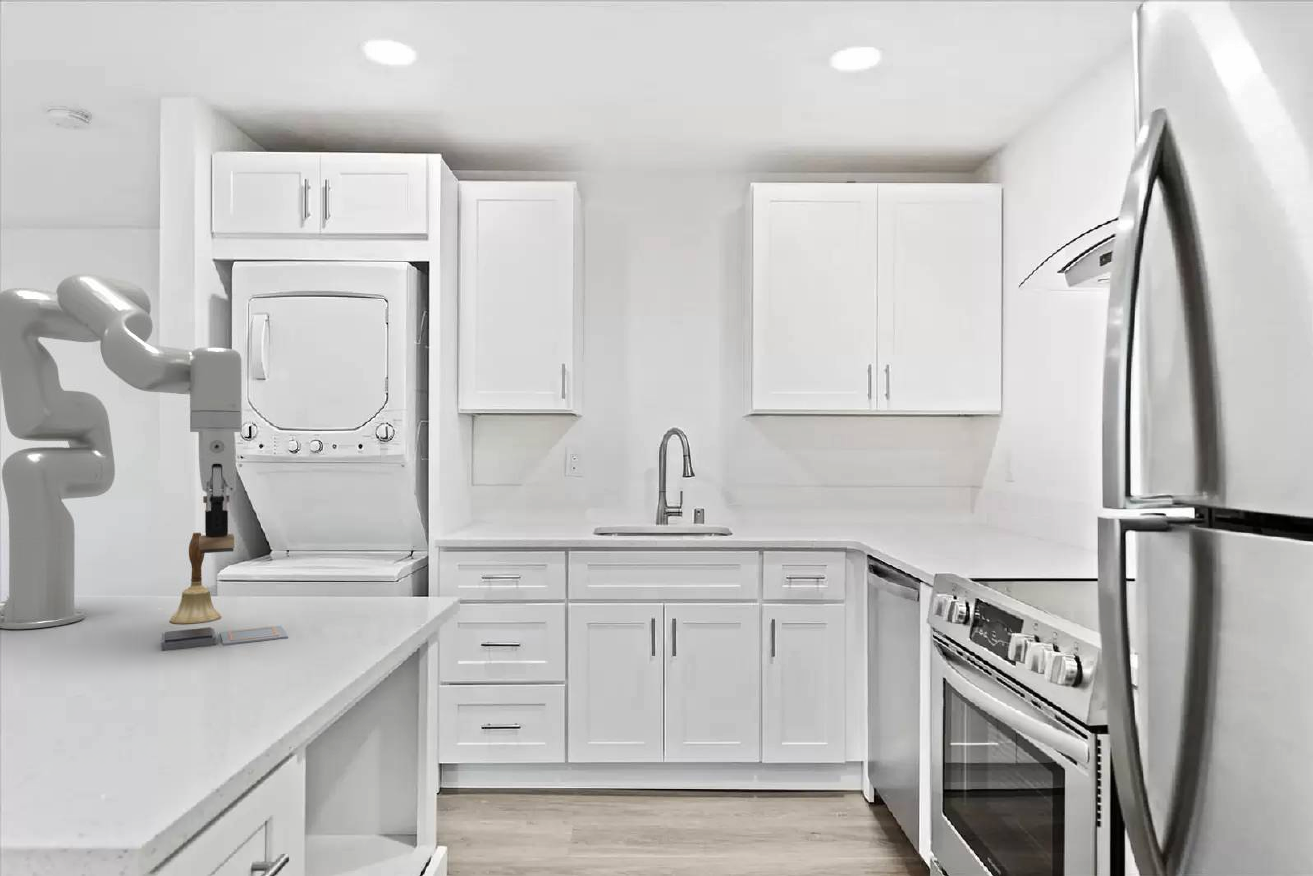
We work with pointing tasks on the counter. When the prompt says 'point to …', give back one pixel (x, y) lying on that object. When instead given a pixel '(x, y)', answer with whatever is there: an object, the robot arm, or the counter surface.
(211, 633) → the ink pad
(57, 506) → the robot arm
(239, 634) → the card
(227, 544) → the stamp
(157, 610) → the counter surface
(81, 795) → the counter surface
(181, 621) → the hand bell
